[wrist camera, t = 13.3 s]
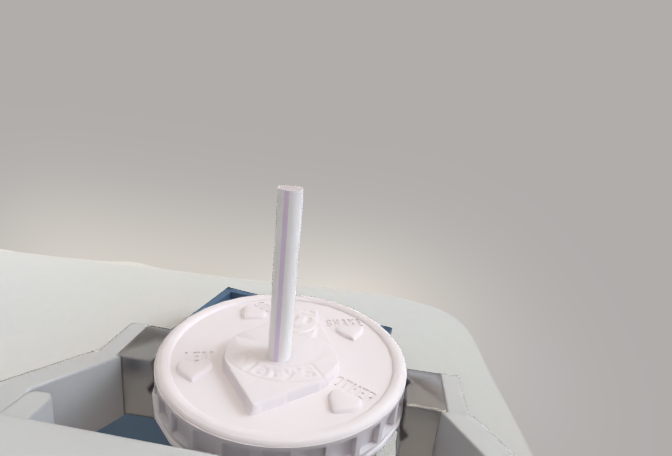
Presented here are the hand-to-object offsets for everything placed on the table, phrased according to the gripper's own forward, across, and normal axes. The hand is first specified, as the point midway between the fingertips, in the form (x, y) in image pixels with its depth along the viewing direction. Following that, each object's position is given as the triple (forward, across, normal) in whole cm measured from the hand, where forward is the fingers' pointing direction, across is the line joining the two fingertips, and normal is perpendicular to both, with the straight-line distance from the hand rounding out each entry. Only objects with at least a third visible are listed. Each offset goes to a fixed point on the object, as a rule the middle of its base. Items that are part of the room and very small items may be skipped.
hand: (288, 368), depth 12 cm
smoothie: (-1, 0, +9) cm, 9 cm away
